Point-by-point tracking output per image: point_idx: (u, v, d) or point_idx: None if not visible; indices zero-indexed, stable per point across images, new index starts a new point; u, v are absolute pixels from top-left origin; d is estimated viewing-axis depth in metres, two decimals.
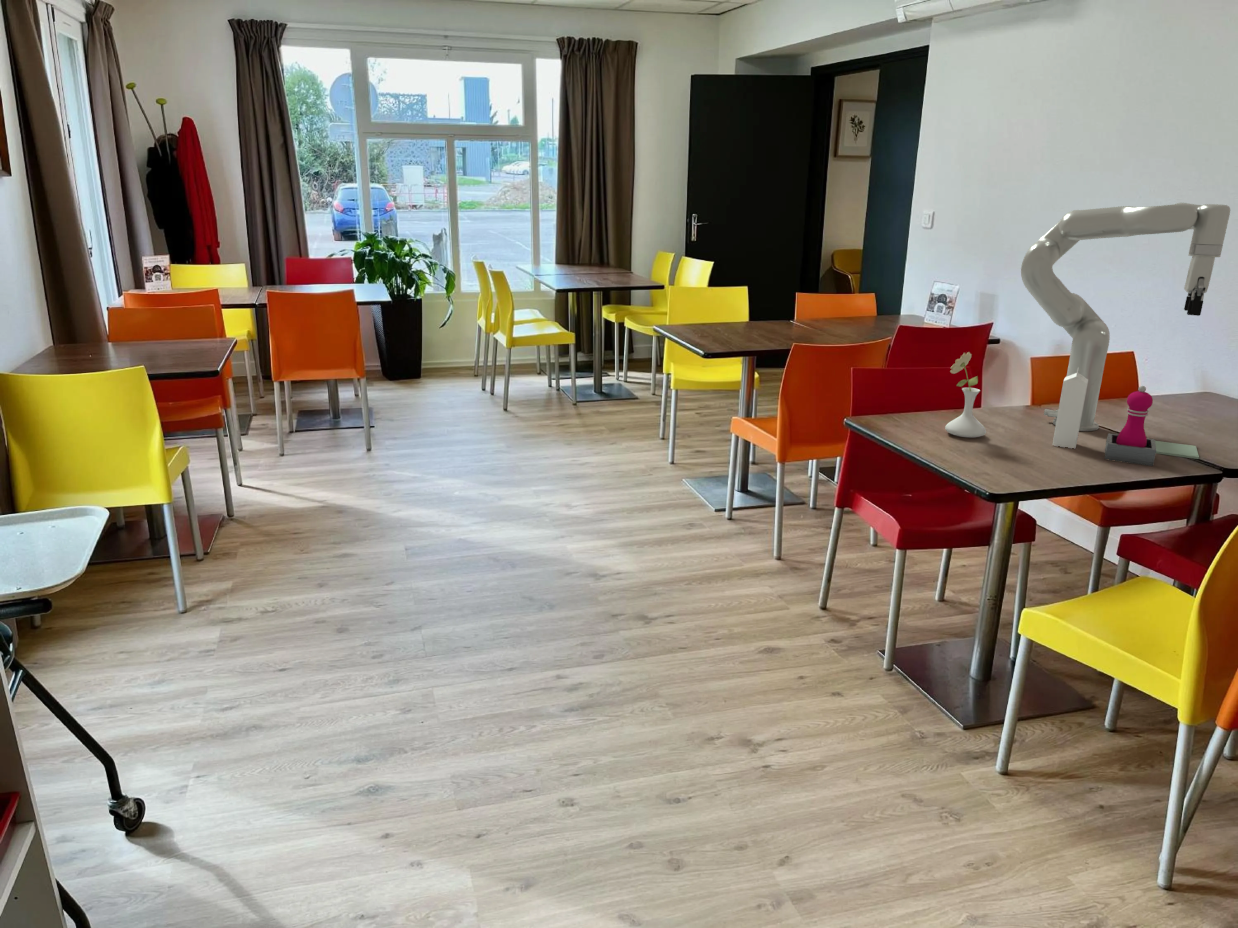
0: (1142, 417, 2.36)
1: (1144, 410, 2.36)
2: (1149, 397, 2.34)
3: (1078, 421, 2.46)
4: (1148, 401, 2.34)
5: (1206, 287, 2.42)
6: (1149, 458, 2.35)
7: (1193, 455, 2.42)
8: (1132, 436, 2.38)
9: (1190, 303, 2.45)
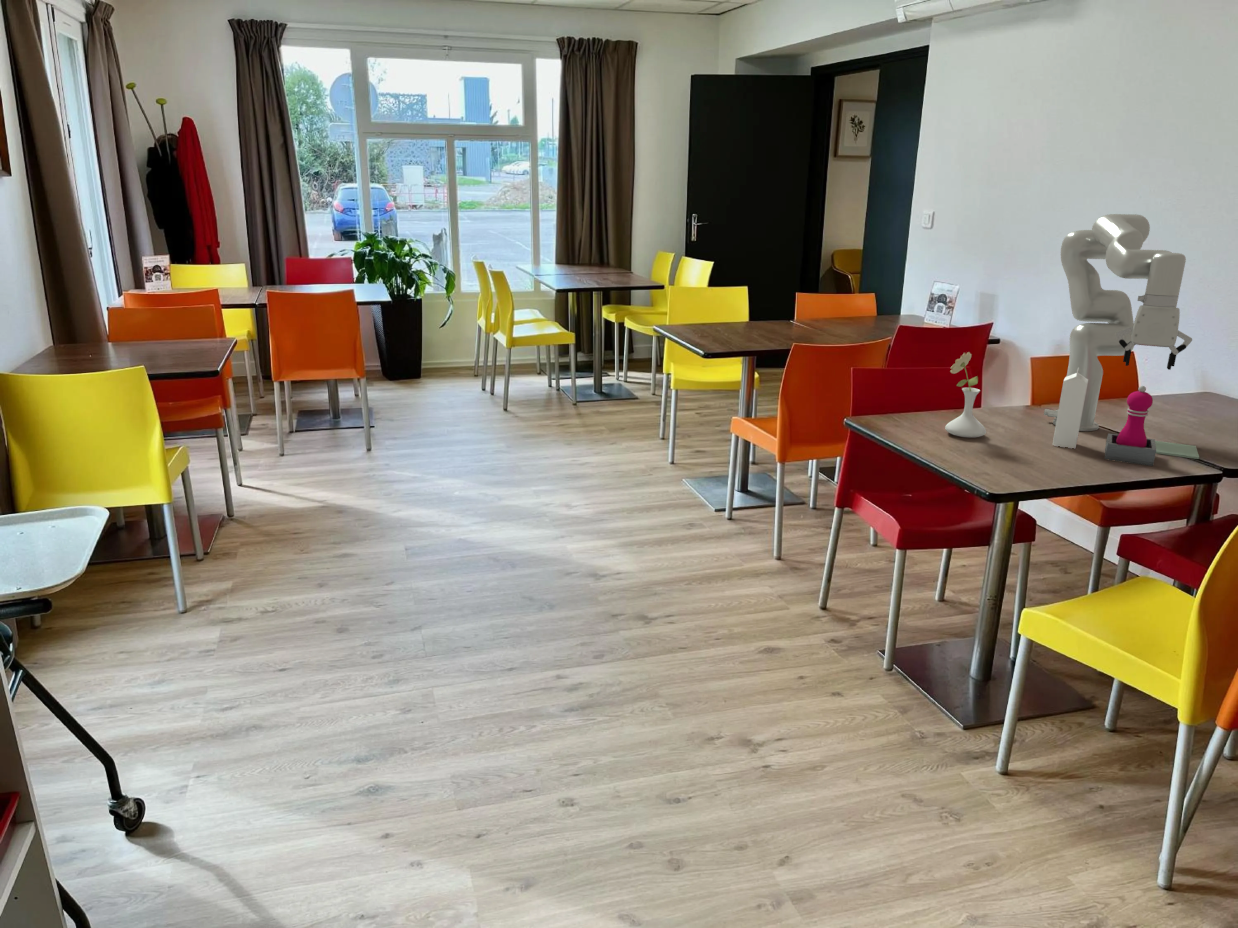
0: (1142, 417, 2.36)
1: (1144, 410, 2.36)
2: (1149, 397, 2.34)
3: (1078, 421, 2.46)
4: (1148, 401, 2.34)
5: None
6: (1149, 458, 2.35)
7: (1193, 455, 2.42)
8: (1132, 436, 2.37)
9: (1172, 357, 2.29)
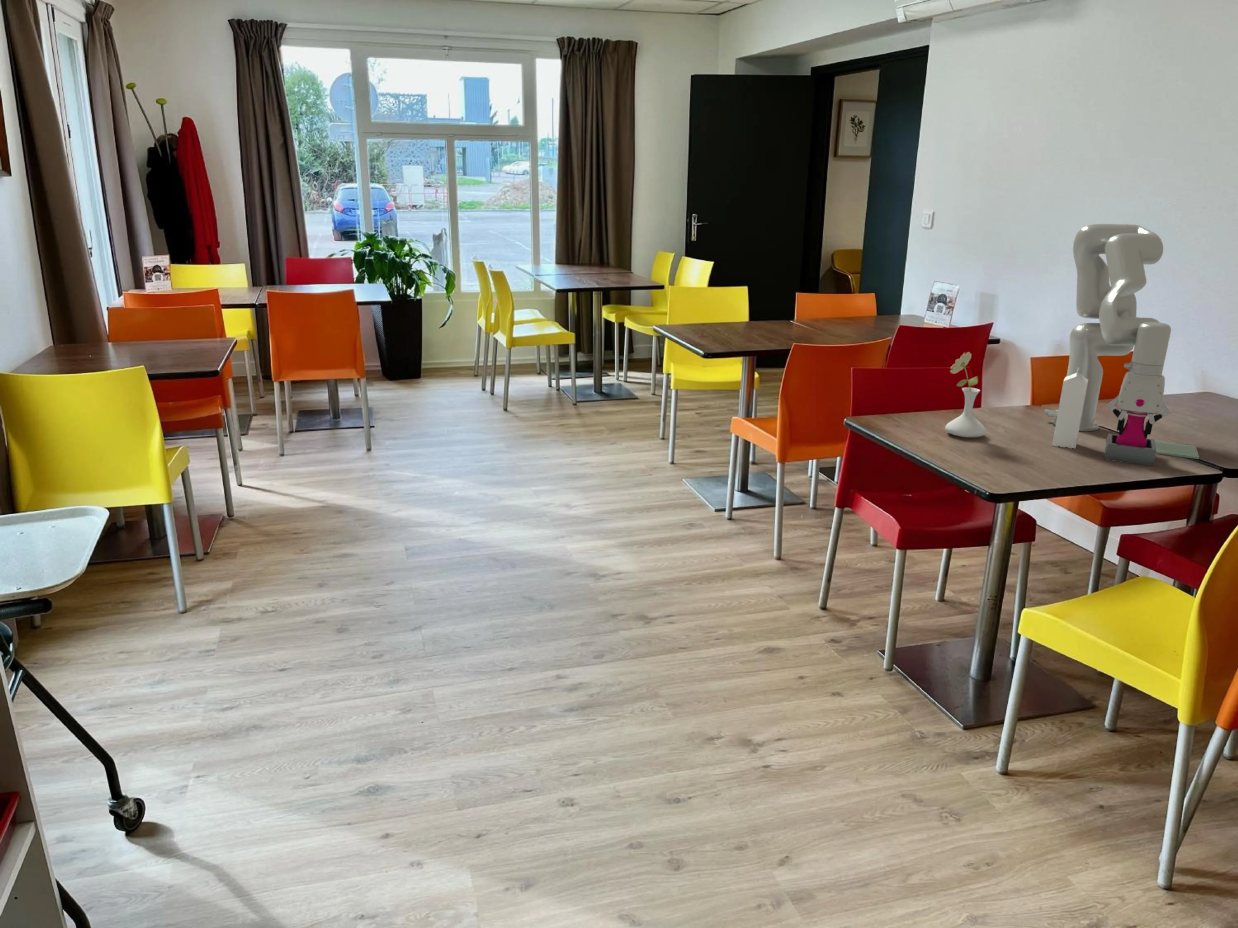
0: (1142, 417, 2.36)
1: None
2: None
3: (1078, 421, 2.46)
4: None
5: None
6: (1149, 458, 2.35)
7: (1193, 455, 2.42)
8: (1132, 436, 2.38)
9: (1149, 426, 2.36)
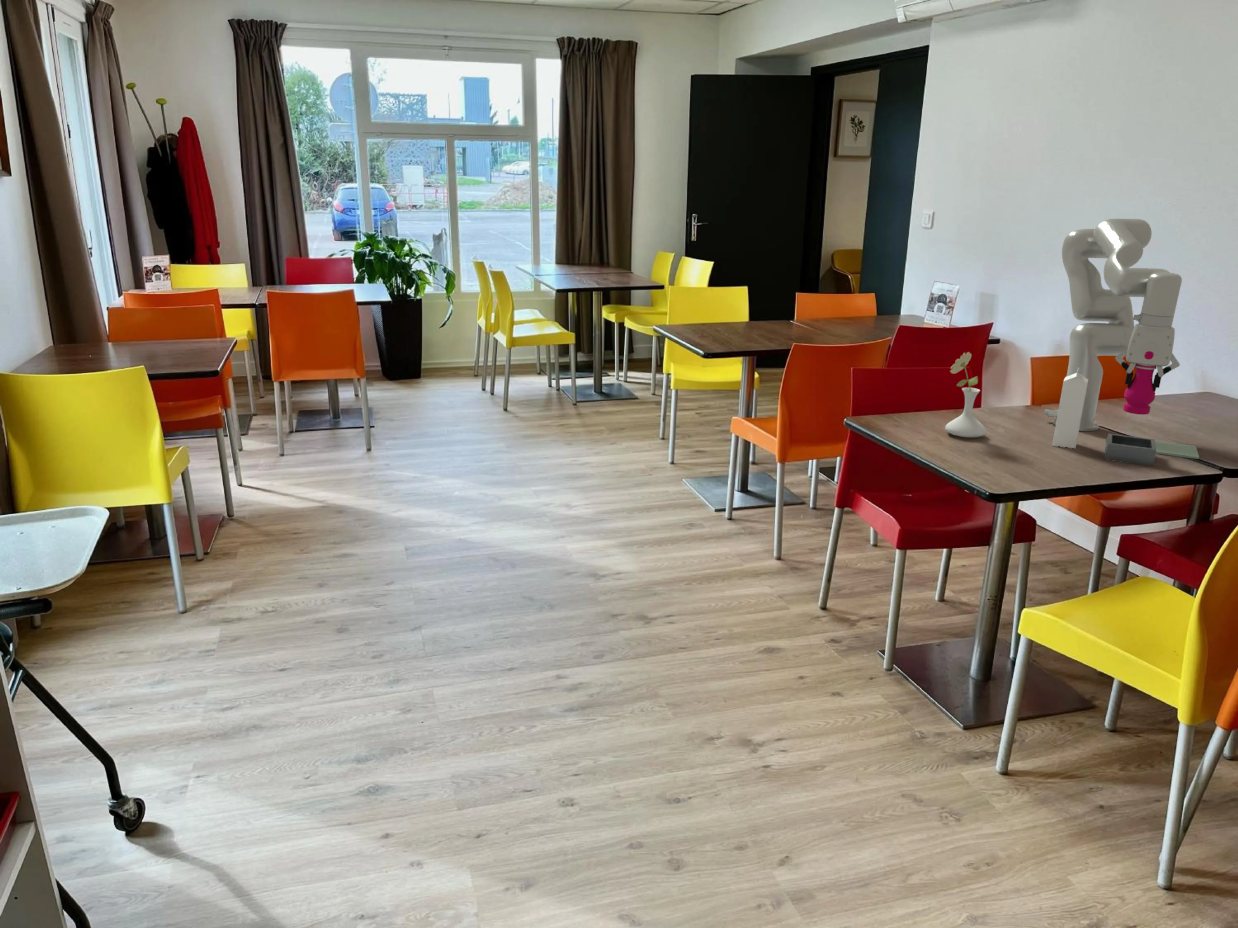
0: (1151, 370, 2.33)
1: None
2: None
3: (1078, 421, 2.46)
4: None
5: None
6: (1149, 458, 2.35)
7: (1193, 455, 2.42)
8: (1140, 389, 2.34)
9: (1157, 379, 2.33)
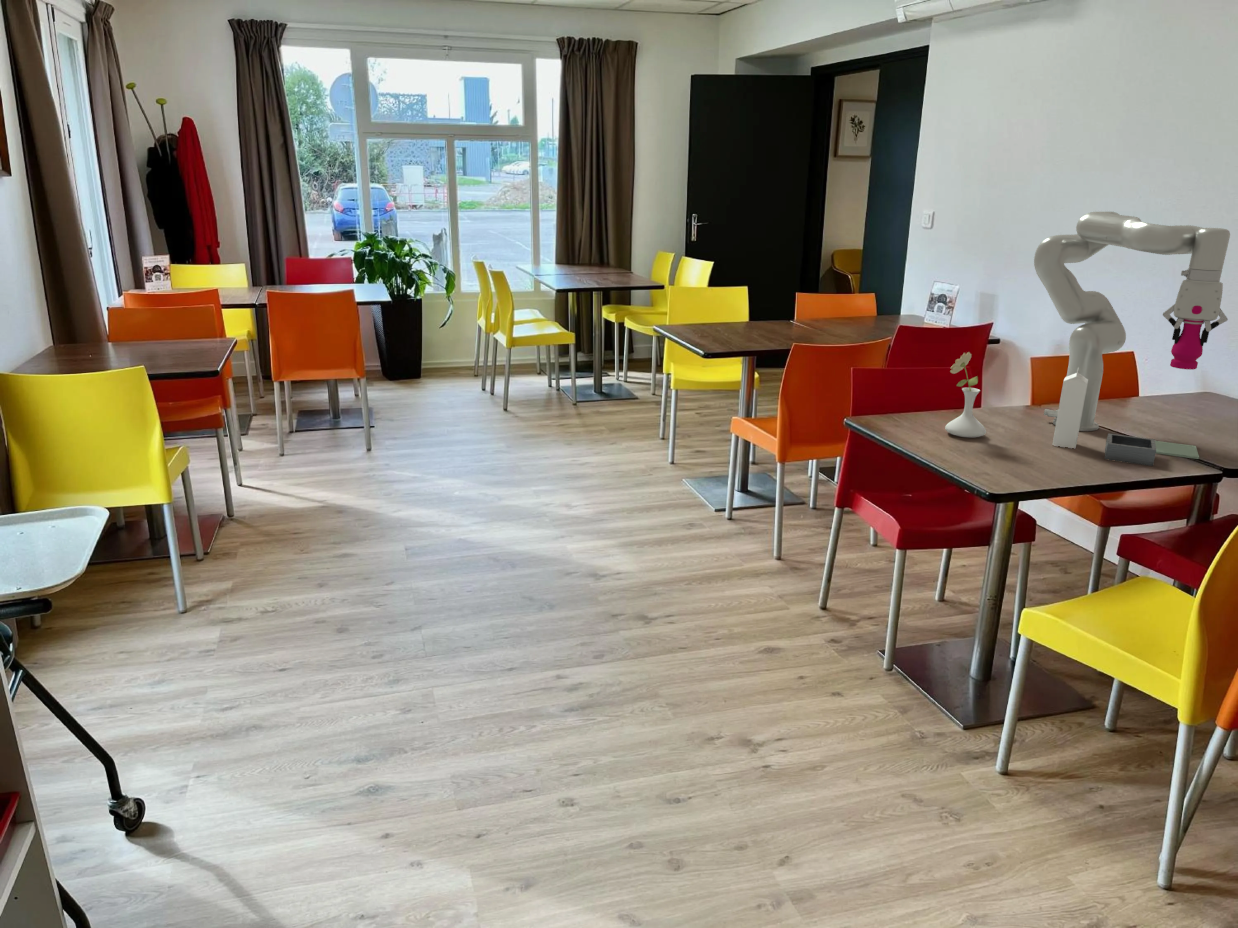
0: (1198, 325, 2.36)
1: None
2: None
3: (1078, 421, 2.46)
4: None
5: None
6: (1149, 458, 2.35)
7: (1193, 455, 2.42)
8: (1187, 344, 2.37)
9: (1205, 334, 2.36)
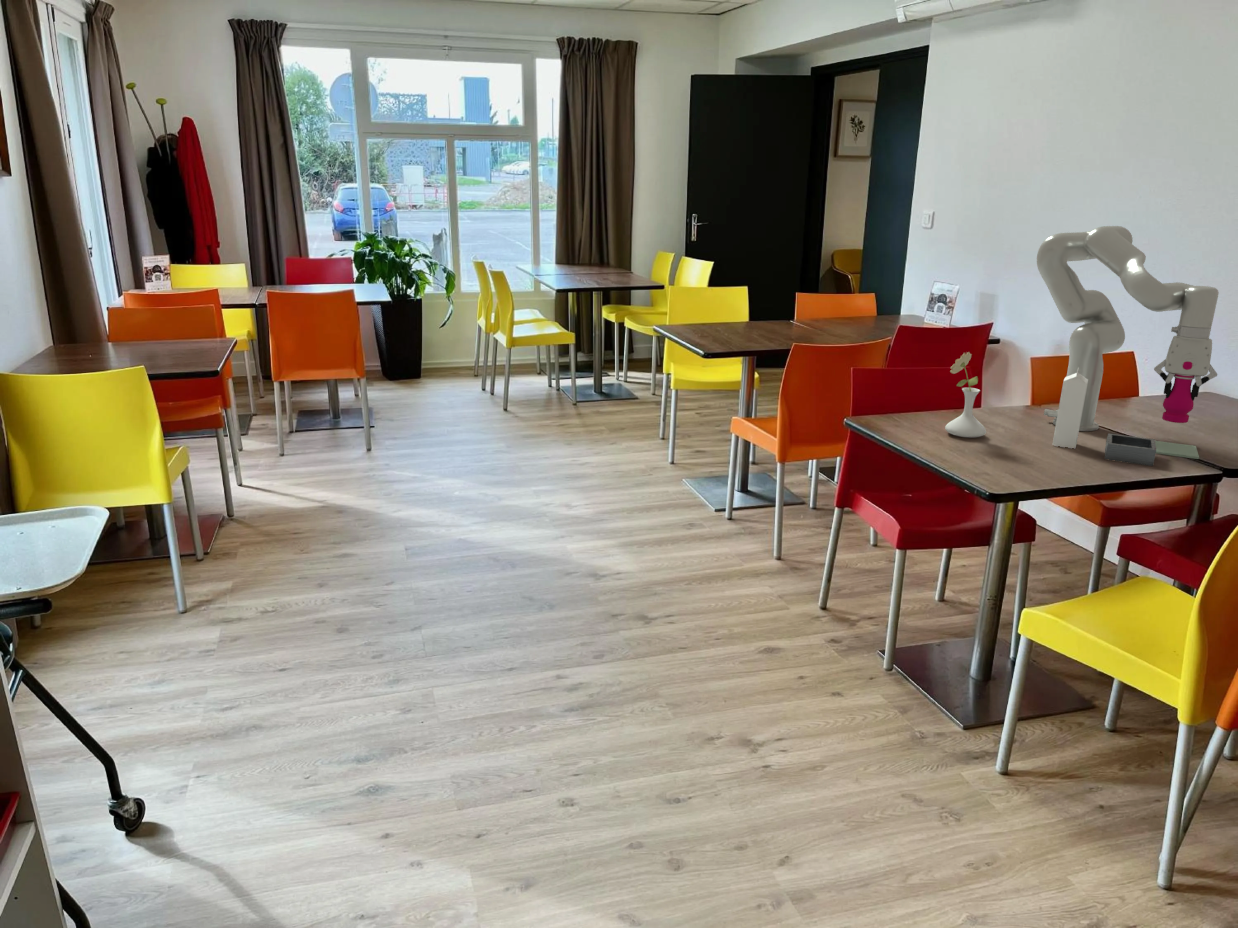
0: (1189, 380, 2.41)
1: None
2: None
3: (1078, 421, 2.46)
4: None
5: None
6: (1149, 458, 2.35)
7: (1193, 455, 2.42)
8: (1179, 398, 2.42)
9: (1196, 389, 2.41)
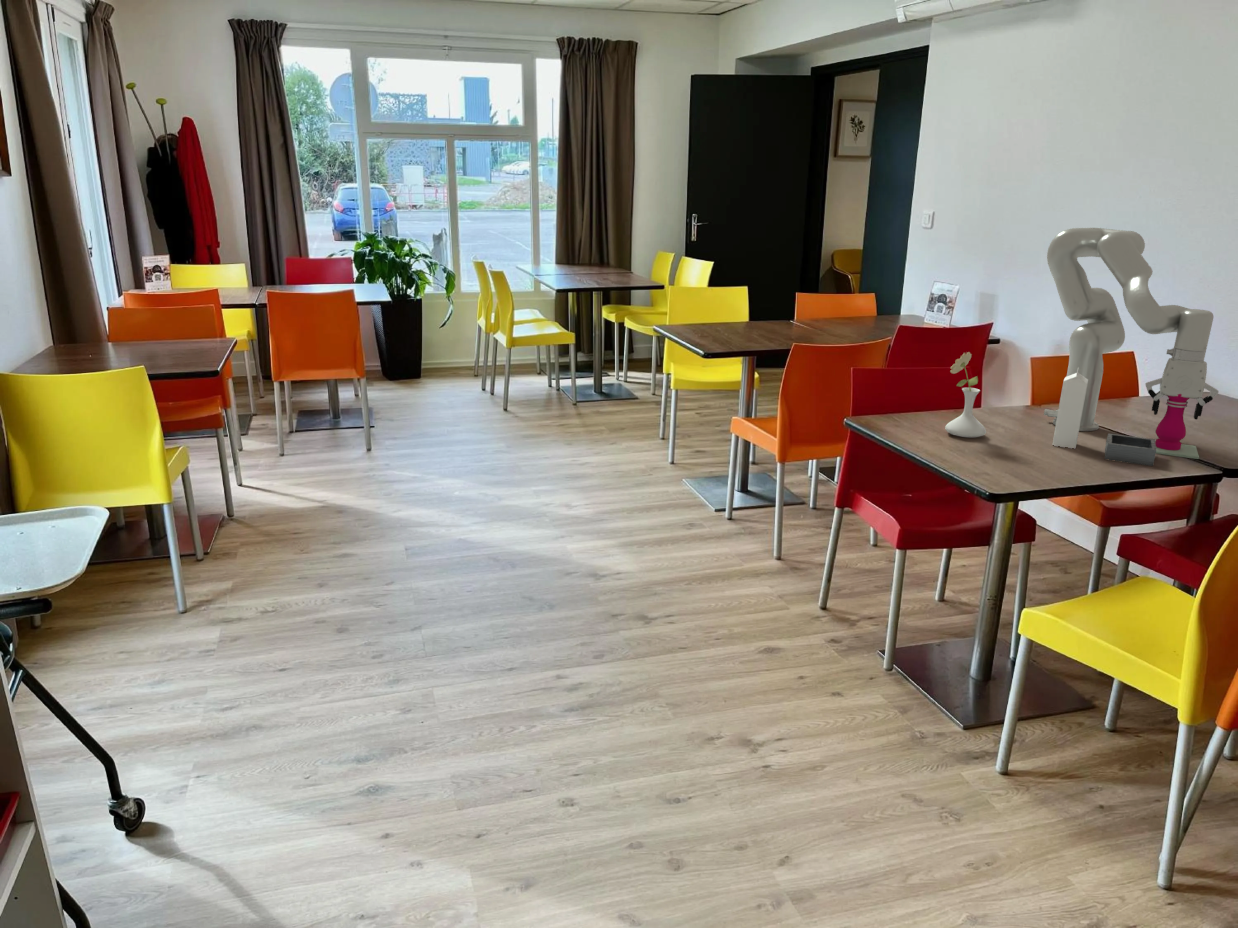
0: (1182, 408, 2.44)
1: (1184, 401, 2.43)
2: None
3: (1078, 421, 2.46)
4: None
5: None
6: (1149, 458, 2.35)
7: (1193, 455, 2.42)
8: (1171, 426, 2.45)
9: (1199, 408, 2.42)
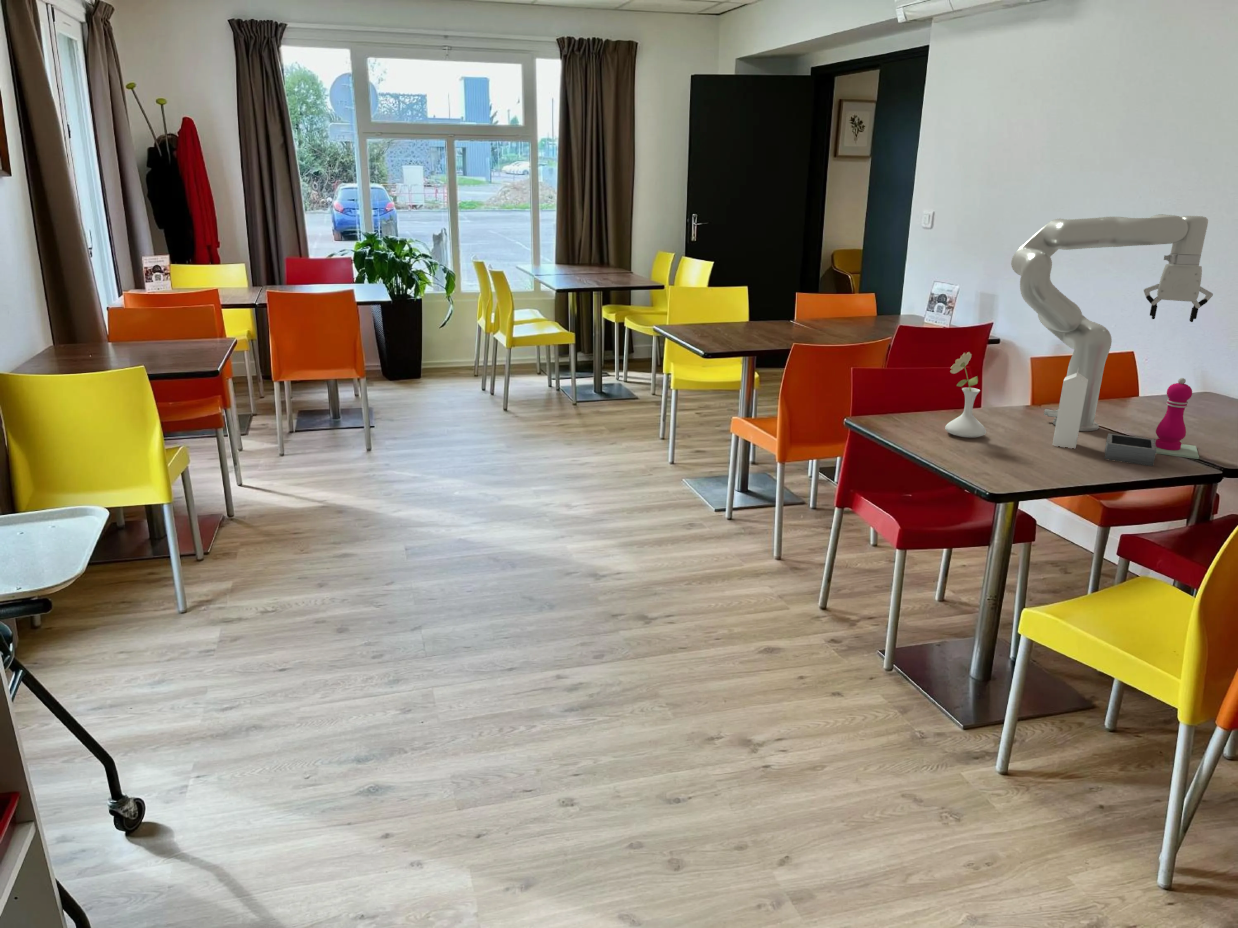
0: (1182, 408, 2.44)
1: (1184, 401, 2.43)
2: (1189, 389, 2.42)
3: (1078, 421, 2.46)
4: (1188, 393, 2.42)
5: None
6: (1149, 458, 2.35)
7: (1193, 455, 2.42)
8: (1171, 426, 2.45)
9: (1195, 311, 2.55)
